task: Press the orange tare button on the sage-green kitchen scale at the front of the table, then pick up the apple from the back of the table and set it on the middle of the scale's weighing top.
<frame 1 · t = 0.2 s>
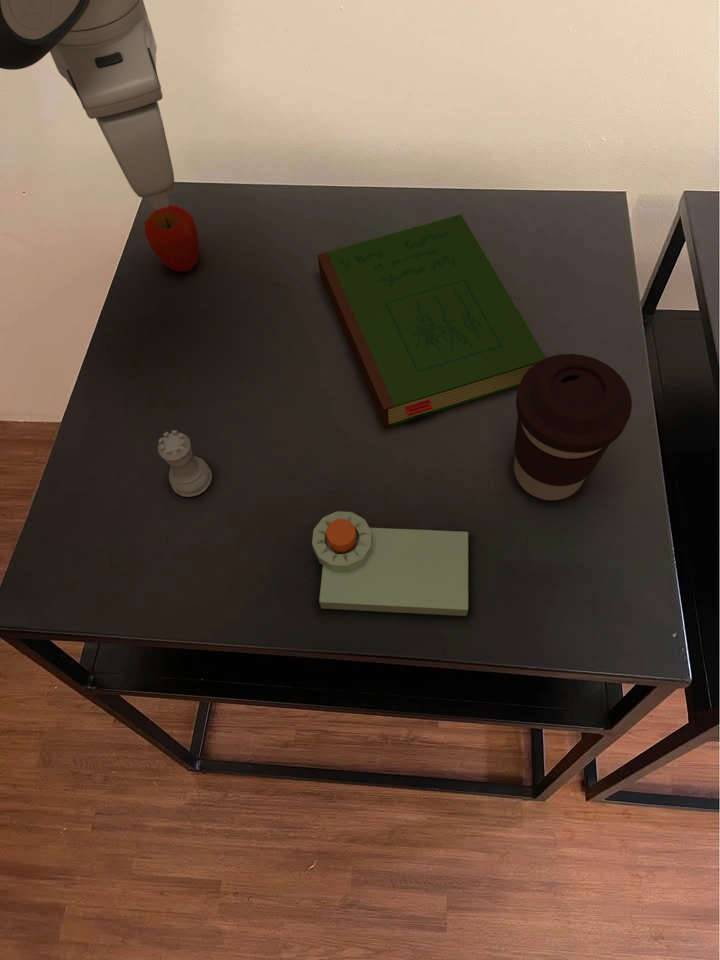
hand: (150, 175, 73), 18 cm above the table, tool pointing down, fingers open, 8 cm apart
apple: (182, 264, 93), on the table
rook chess piece: (192, 481, 77), on the table
scale: (395, 573, 71), on the table
coffee cup: (547, 472, 75), on the table
tare button: (341, 535, 69), point 4 cm above the table, slide at 0.1 cm
hardcover book: (425, 329, 86), on the table
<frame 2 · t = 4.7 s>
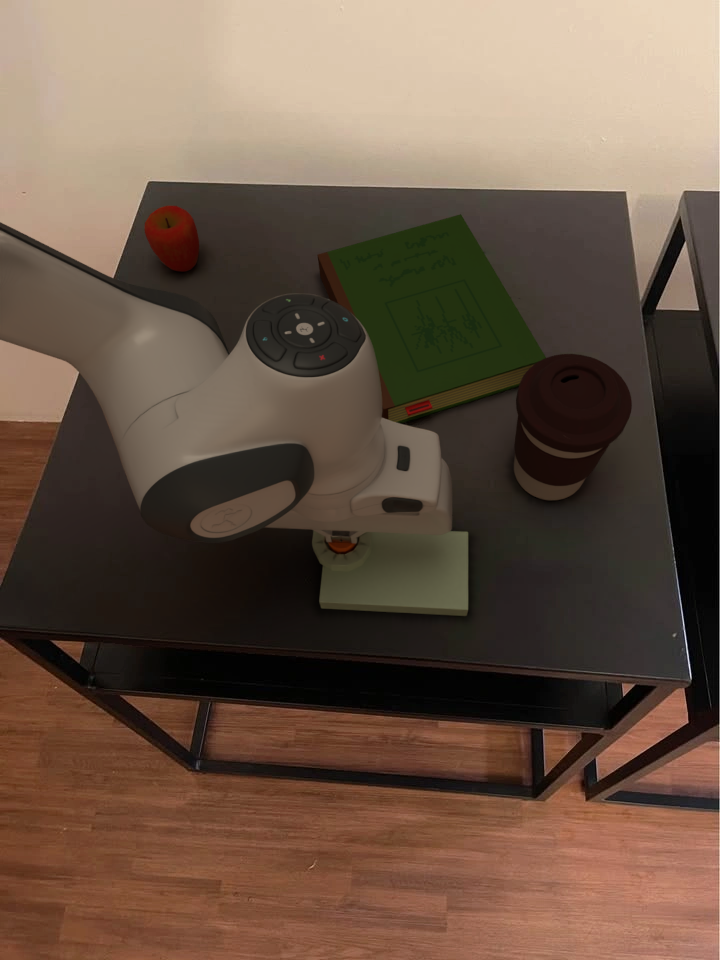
hand: (342, 535, 68), 4 cm above the table, tool pointing down, fingers closed, pressing on tare button
tare button: (342, 539, 69), point 3 cm above the table, slide at -0.7 cm, touching gripper
everything else where it was.
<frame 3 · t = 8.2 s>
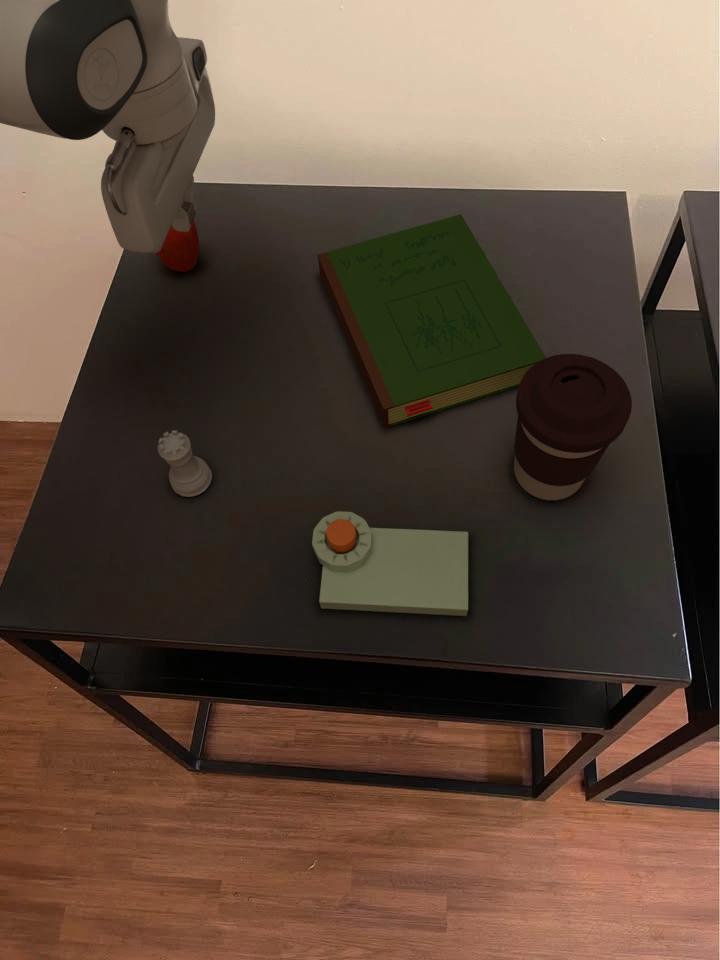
hand: (186, 221, 75), 15 cm above the table, tool pointing down, fingers closed
tare button: (341, 535, 69), point 4 cm above the table, slide at 0.1 cm
everything else where it was.
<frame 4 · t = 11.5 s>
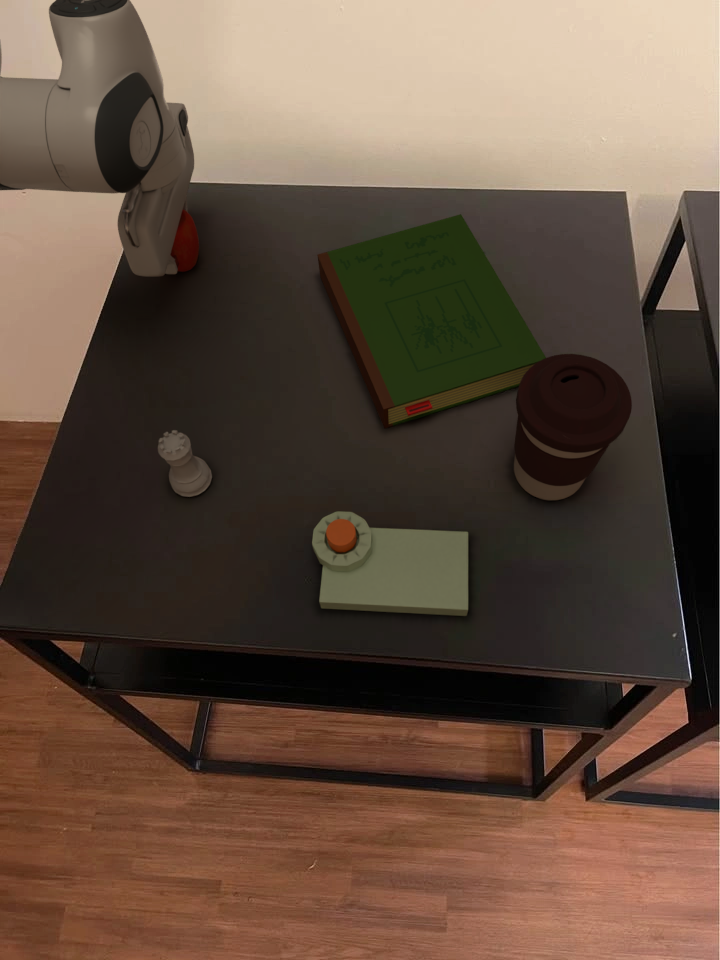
hand: (177, 248, 91), 2 cm above the table, tool pointing down, fingers closed on apple, 6 cm apart
apple: (182, 264, 93), on the table, touching gripper
everything else where it was.
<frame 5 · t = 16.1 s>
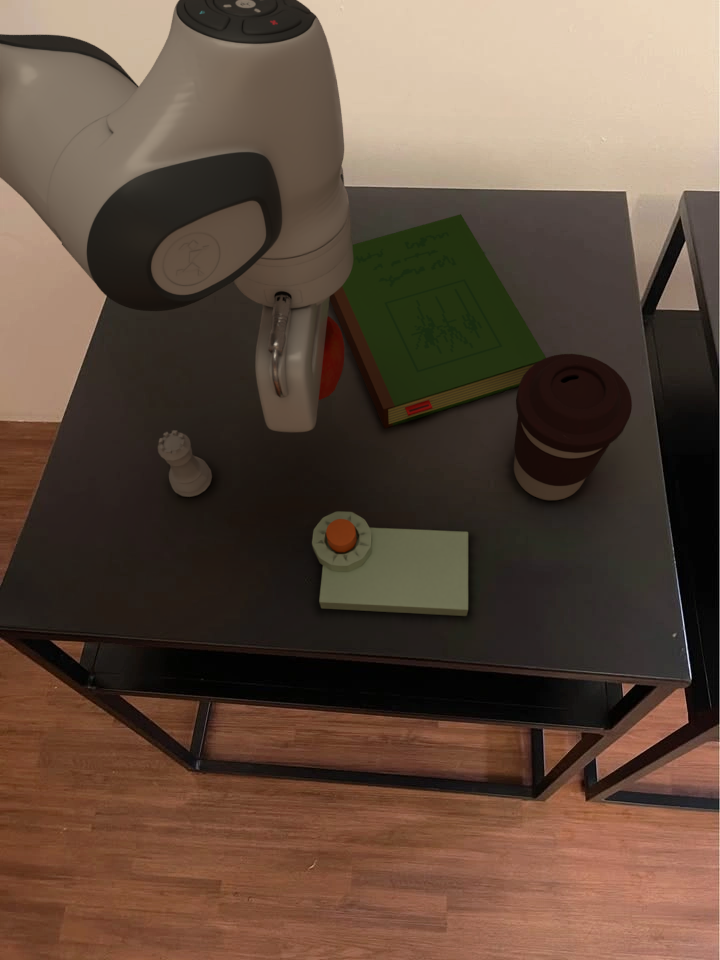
hand: (311, 368, 62), 17 cm above the table, tool pointing down, fingers closed on apple, 6 cm apart
apple: (314, 386, 64), point 15 cm above the table, touching gripper
everything else where it was.
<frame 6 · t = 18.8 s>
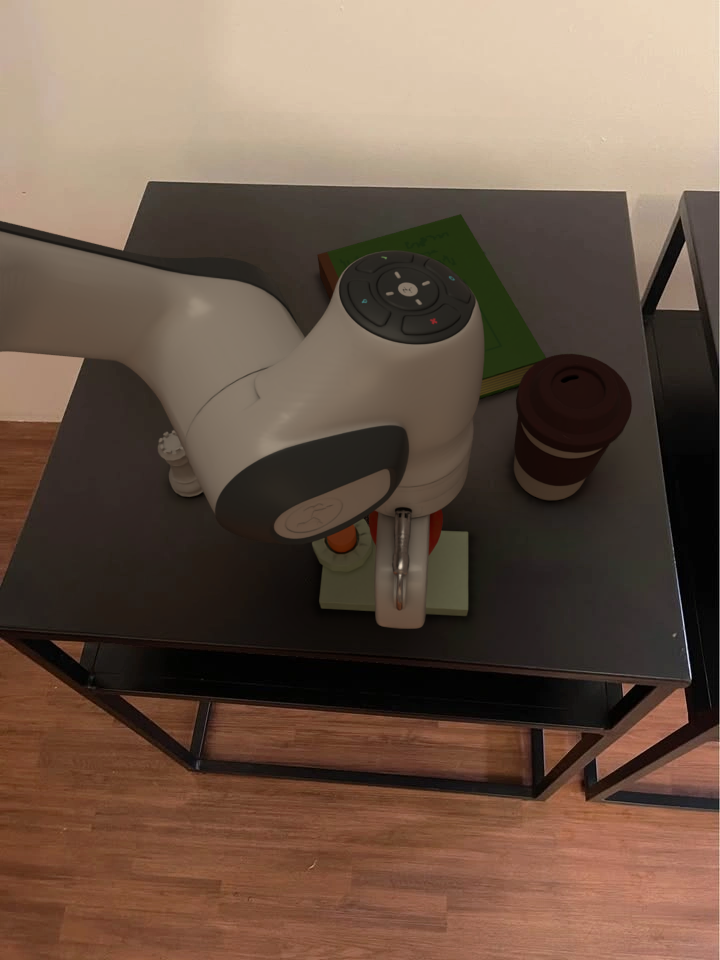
hand: (405, 534, 62), 10 cm above the table, tool pointing down, fingers closed on apple, 6 cm apart
apple: (405, 547, 64), point 7 cm above the table, touching gripper
everything else where it was.
when the fingers open (4 cm above the table, at t = 20.9 s): apple stays where it is, resting on scale.
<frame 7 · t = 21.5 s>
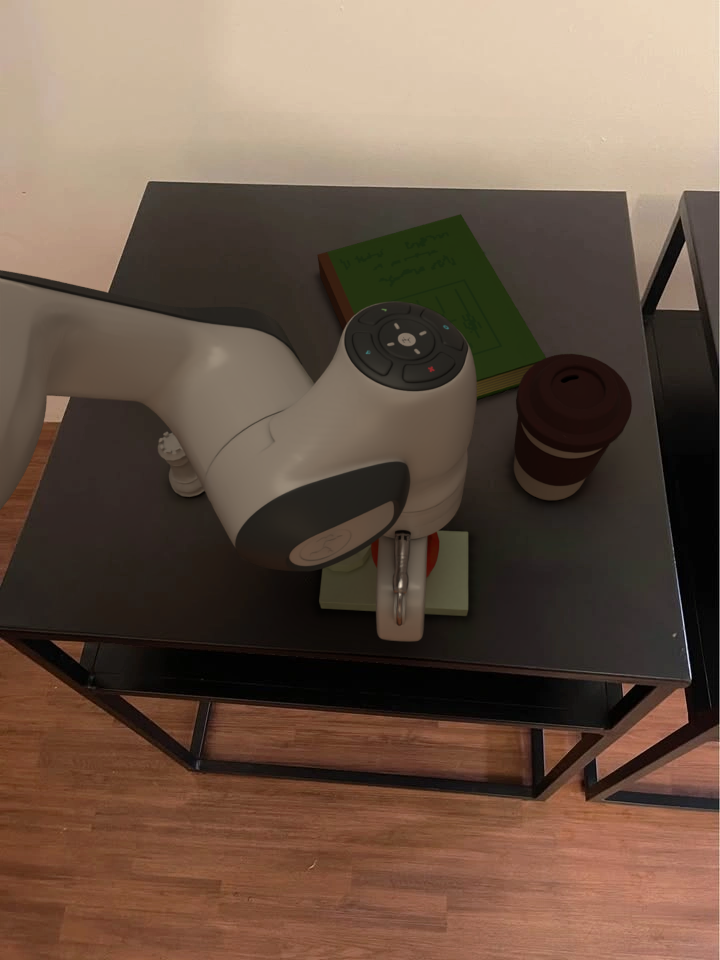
hand: (404, 550, 66), 6 cm above the table, tool pointing down, fingers open, 8 cm apart
apple: (404, 569, 69), point 2 cm above the table, touching scale
everything else where it was.
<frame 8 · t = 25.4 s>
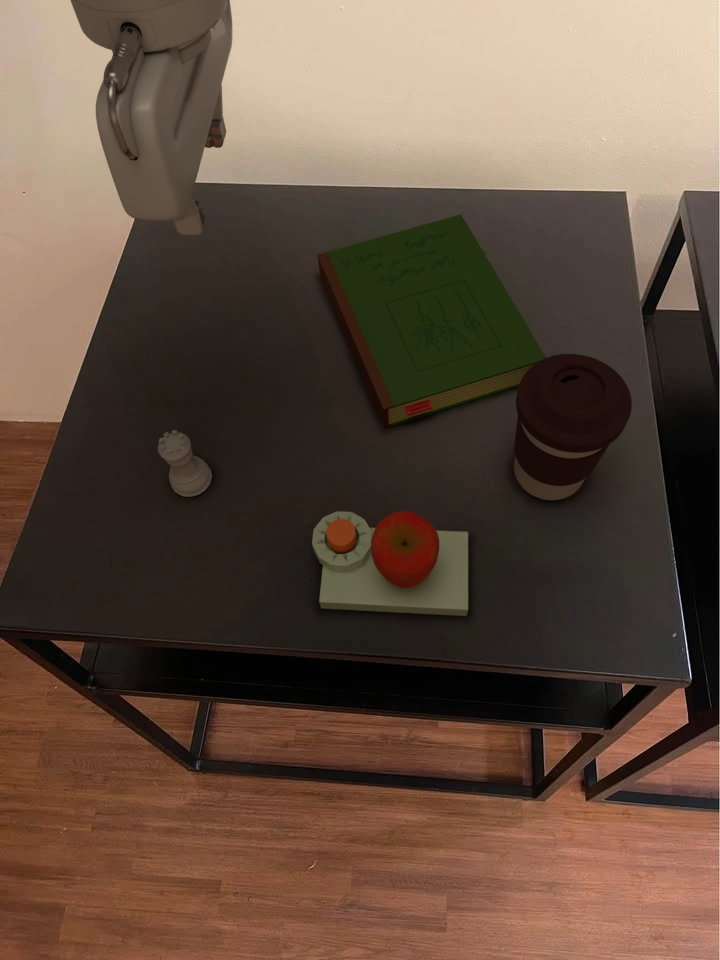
hand: (204, 183, 53), 31 cm above the table, tool pointing down, fingers open, 8 cm apart
nothing on the table moved.
at the end: tare button pushed in 0.8 cm at the most during the clip, back to where it started at the end; apple touching scale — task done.
